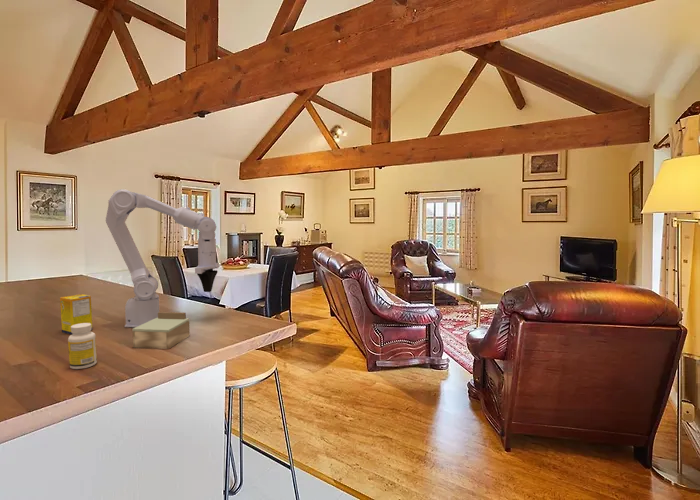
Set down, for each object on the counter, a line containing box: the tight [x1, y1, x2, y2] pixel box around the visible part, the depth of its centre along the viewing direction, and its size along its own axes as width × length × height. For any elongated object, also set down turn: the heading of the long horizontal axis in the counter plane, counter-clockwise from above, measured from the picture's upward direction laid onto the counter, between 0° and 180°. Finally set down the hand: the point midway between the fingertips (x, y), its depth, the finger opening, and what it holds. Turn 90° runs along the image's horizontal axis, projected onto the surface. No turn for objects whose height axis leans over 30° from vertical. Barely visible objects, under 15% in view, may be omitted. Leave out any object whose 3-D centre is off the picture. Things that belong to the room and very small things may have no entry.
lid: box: [131, 311, 190, 332], centre depth 110 cm, size 10×12×2 cm
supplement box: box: [59, 293, 94, 335], centre depth 119 cm, size 6×6×11 cm
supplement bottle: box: [67, 323, 98, 370], centre depth 92 cm, size 5×5×10 cm
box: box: [131, 320, 191, 350], centre depth 111 cm, size 10×12×4 cm
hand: (207, 291), depth 134 cm, fingers closed
